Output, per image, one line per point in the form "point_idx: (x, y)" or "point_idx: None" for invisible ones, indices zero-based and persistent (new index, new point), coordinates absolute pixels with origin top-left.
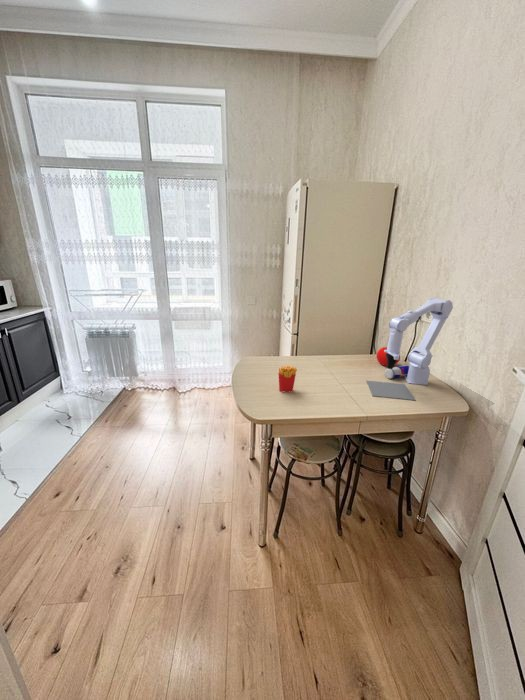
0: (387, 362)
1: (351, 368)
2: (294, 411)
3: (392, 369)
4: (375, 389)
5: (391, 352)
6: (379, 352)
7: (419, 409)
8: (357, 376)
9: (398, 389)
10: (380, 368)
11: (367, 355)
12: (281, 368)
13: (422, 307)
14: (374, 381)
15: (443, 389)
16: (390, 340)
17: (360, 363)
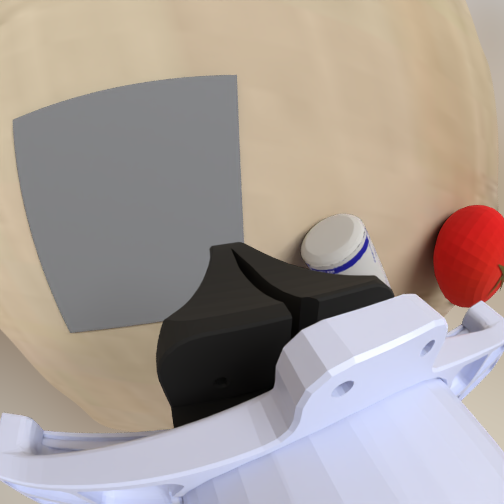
0: (248, 264)
1: (400, 47)
2: None
3: (346, 269)
4: (93, 128)
5: (193, 494)
6: (497, 222)
7: (9, 327)
8: (300, 37)
9: (152, 271)
10: (421, 206)
11: (496, 180)
12: None
13: None
14: (234, 128)
15: None
16: None
17: (453, 121)
